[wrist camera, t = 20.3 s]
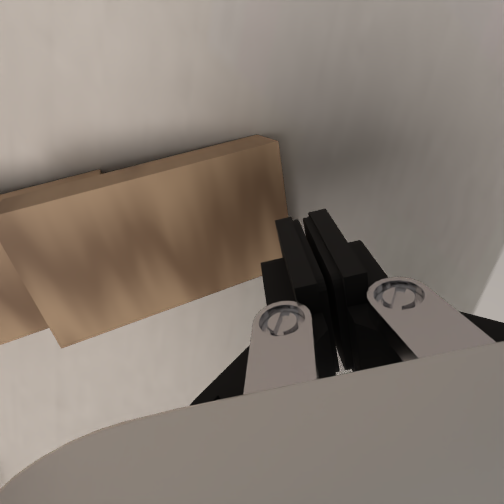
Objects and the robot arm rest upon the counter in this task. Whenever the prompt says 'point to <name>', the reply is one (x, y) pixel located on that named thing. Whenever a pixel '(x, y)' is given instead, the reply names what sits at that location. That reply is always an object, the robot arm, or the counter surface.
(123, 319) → the domino
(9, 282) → the domino
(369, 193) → the counter surface
